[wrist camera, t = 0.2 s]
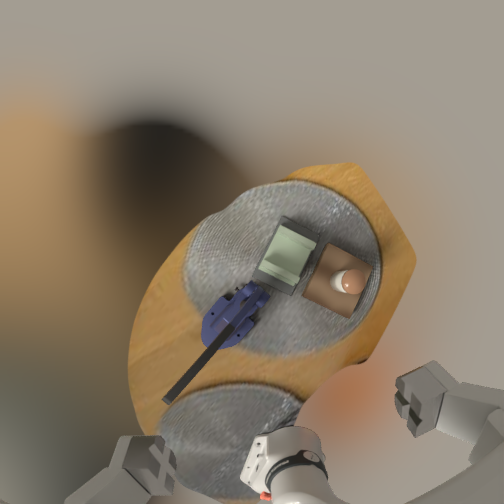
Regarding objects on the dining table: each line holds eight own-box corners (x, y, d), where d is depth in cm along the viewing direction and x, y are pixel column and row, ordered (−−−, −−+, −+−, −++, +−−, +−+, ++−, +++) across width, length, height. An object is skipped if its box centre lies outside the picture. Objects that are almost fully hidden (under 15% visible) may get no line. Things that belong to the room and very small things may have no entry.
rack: (293, 286, 59) (295, 286, 55) (258, 268, 60) (258, 268, 56) (314, 242, 60) (318, 240, 56) (279, 225, 61) (281, 221, 57)
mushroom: (344, 295, 57) (359, 298, 48) (325, 286, 57) (338, 287, 48) (353, 276, 57) (369, 275, 48) (335, 266, 58) (349, 264, 49)
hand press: (243, 271, 60) (233, 265, 32) (275, 298, 60) (294, 316, 32) (185, 338, 59) (136, 381, 31) (217, 364, 58) (191, 426, 31)
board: (345, 317, 59) (349, 318, 57) (301, 295, 60) (303, 296, 57) (368, 267, 60) (373, 266, 58) (325, 244, 61) (328, 242, 58)
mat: (290, 295, 60) (290, 295, 59) (251, 276, 60) (251, 276, 60) (319, 235, 61) (320, 235, 60) (281, 216, 61) (281, 216, 61)
